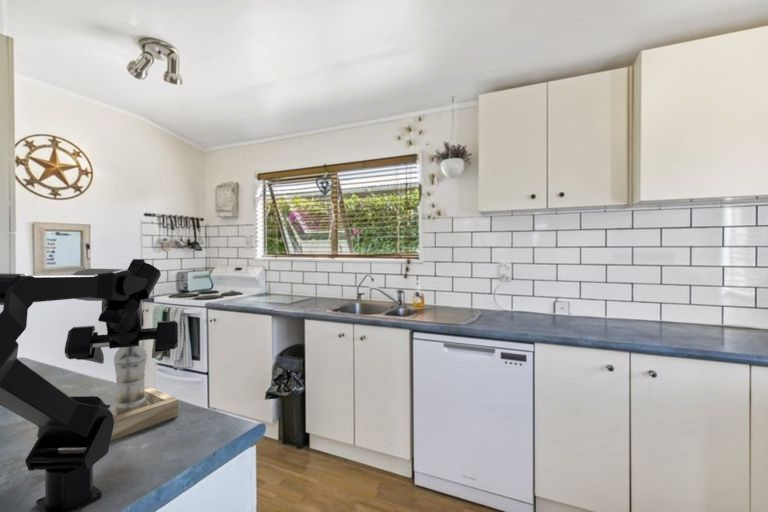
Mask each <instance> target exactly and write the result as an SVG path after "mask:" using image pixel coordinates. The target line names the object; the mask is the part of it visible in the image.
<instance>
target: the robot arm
mask: <svg viewBox="0 0 768 512" xmlns="http://www.w3.org/2000/svg"><path fill="white" fill-rule="evenodd" d="M161 276H162V274H161V270H160V269H158V268H157V267H155V266H154V265H153V264H151V263H147V262H146V261H145V259H144V258H142V259H141V258H133V259H132V260H131V261H130V264H129V266H128V267H127V269H126V268H125V269H123V268H122V269H121V268H85V269H82V270H78V271H75V272H74V273H72V274H28V273H1V272H0V306H3V307H2V311H1V312H0V406H1V407H4V408H5V409H6V410H8V411H10V412H12V413H14V414H15V415H17V416H19V417H21V418H23V419H25V420H26V421H28V422H30V423H31V424H33V425H35V426H36V427H38V429H37V433H36V437H37V440H36V441H35V444H34V445H33V447H32V449H31V450H30V452H29V453H28V455H27V457H26V458H25V462H24V463H25V465H26V467H27V470H28V471H29V472H30V471H38V470H45V474H44V475H45V476H44V477H45V478H44V482H45V484H44V487H45V488H44V496H43V497H41V498H39V499H38V498H37V499H36V501H35V506H37V508H38V509H39V510H40V511H41V512H72V511H74V510H76V509H78V508H80V507H83V506H84V505H87V504H88V503H91V502H93V501H95V500H97V499H100V498H101V497H102V496H103V492H102V490H100V489H99V488H98V487H96V485H94V465H95V464H96V463H98V462H99V461H100V460H101V459H103V457H105V456H106V455H107V454H108V453H109V449H110V444H111V441H110V440H111V436H112V431H113V427H114V419H113V415H112V414H113V412H111V410H110V409H109V408H111V404H106V403H105V402H103V400H102V398H100V397H98V396H94V395H91V396H87V395H86V396H84V395H83V396H73V395H72V396H71V395H70V396H69V395H67V394H66V393H65V392H64V391H63V390H61V389H60V388H58V387H56V386H55V385H54V384H52V383H51V382H50V381H49V380H47V379H45V377H43V376H42V375H40V374H39V373H37V372H36V371H35V370H34V369H32V368H30V367H29V366H28V365H26V364H25V363H24V362H22V361H21V360H19V359H18V354H19V353H18V351H19V343H18V341H17V340H18V339H19V338H20V336H21V335H22V333H24V331H26V329H27V326H28V325H27V323H28V312H29V311H28V310H29V309H30V308H31V306H32V305H33V304H34V303H41V302H43V303H44V302H53V301H64V300H74V299H75V300H78V301H79V300H80V301H87V302H88V301H89V302H93V301H94V302H101V312H100V314H99V317H98V319H97V320H98V322H102V323H105V325H106V326H105V327H106V330H107V331H106V332H107V333H106V334H99V333H98V331H95V330H96V325H87V326H73V327H72V328H71V329H69V330H68V331H67V337H66V340H65V347H64V355H65V358H67V359H68V360H77V361H81V360H83V361H88V362H94V363H97V364H102V365H103V364H104V362H105V358H104V357H105V356H104V352H103V350H102V348H108V347H109V349H119V348H122V347H133V346H139V343H140V342H141V341H147V340H148V341H149V340H150V341H151V340H153V344H152V349H151V359H156V357H157V356H159V355H161V354H163V353H165V352H169V351H171V350H175V349H176V348H177V347H178V343H179V338H178V336H179V326H178V325H179V322H178V321H176V320H164V321H163V320H162V321H157V322H156V323H157V324H156V327H150V328H149V327H148V328H143V327H144V322H145V321H144V320H145V319H144V313H143V304H142V303H143V301H144V300H146V299H149V297H150V296H151V294H152V292H153V290H154V288H155V287H156V285H157V283H158V281H159V280H160V277H161ZM140 340H141V341H140ZM81 448H83V449H81Z"/></svg>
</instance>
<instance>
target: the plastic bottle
mask: <svg viewBox="0 0 768 512" xmlns="http://www.w3.org/2000/svg"><path fill="white" fill-rule="evenodd" d="M141 341H142V340H140V341H139V346H133V347H122V348H117V351H116V352H115V353H114V357H113V364H114V369H115V381H116V388H115V390H116V391H115V399H114V403H113V408H112V414H114V415H115V416H118V415H121V414H124V413H127V412H130V411H133V410H136V409H139V408H142V407H145V406H147V402H146V397H145V391H144V387H145V370H146V363H147V357H148V354H147V351H146V349H145V347H144V346H143V345H142V344H141V343H140V342H141Z"/></svg>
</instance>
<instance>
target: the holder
mask: <svg viewBox="0 0 768 512" xmlns="http://www.w3.org/2000/svg"><path fill="white" fill-rule="evenodd" d="M144 391H145V397H146V402H147V406H145V407H142V408H139V409H136V410H133V411H130V412H127V413H124V414H121V415H118V416H115V415H114V414H113V413H112V415H113V419H114V427H113V431H112V436H111V440H110V442H111V441H114V440H117V439H120V438H122V437H125V436H128V435H130V434H131V435H132V434H133V433H136V432H138V431H141V430H144V429H146V428H149V427H152V426H155V425H158V424H160V423H163V422H165V421H168V420H170V419H171V420H172V419H173V418H176V417H178V416H179V398H176V397H174V396H172V395H170V394H167V393H165V392H163V391H160V390H158V389H156V388H154V387H152V386H149V385H148V386H144ZM159 395H160V396H159Z"/></svg>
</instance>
